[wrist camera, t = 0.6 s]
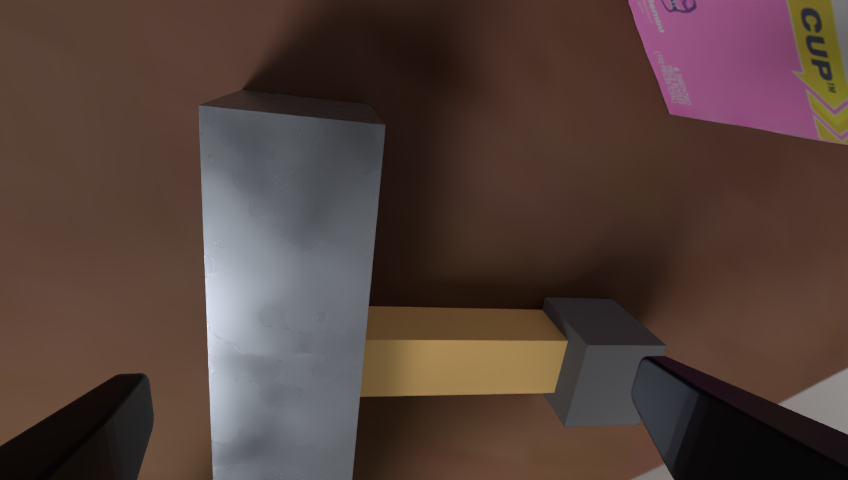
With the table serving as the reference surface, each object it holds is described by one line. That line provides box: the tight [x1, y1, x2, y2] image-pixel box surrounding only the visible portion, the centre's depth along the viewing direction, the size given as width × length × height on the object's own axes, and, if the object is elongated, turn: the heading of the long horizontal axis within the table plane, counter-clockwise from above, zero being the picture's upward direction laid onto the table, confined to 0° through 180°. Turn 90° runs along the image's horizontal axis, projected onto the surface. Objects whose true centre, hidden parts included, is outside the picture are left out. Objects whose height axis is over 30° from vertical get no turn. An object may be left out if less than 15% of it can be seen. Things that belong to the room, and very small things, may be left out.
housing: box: [199, 90, 386, 480], centre depth 20 cm, size 22×5×6 cm, turn 173°
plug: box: [360, 297, 667, 427], centre depth 22 cm, size 4×16×4 cm, turn 83°
